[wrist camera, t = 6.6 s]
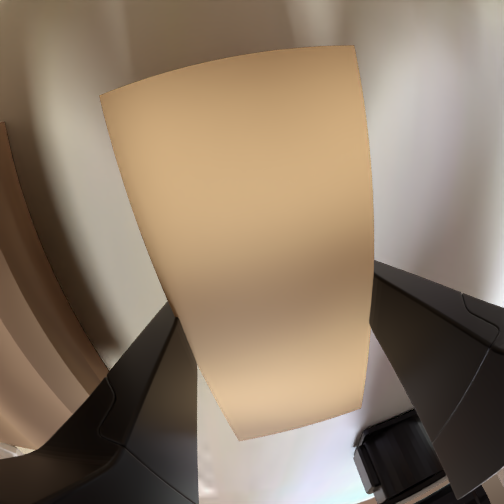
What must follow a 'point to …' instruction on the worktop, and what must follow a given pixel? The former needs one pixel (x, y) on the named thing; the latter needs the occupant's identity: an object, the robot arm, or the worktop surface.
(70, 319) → the laid planks
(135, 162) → the oak plank
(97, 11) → the worktop surface
